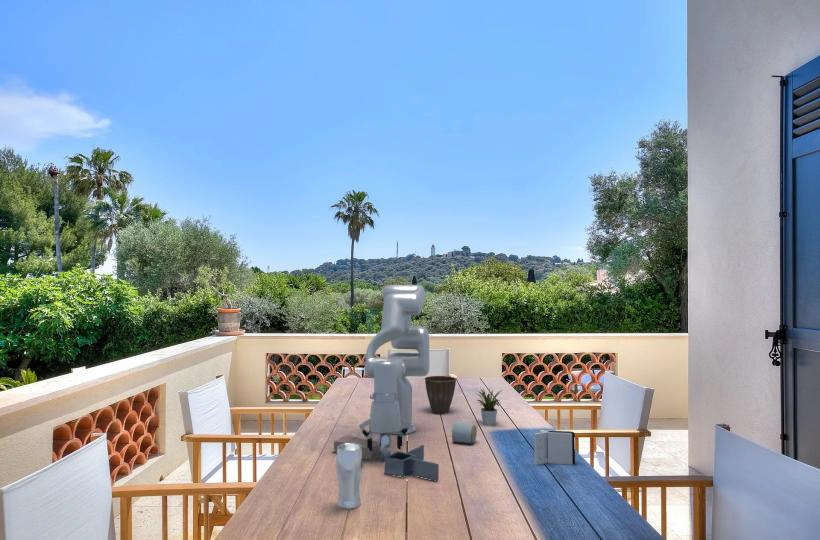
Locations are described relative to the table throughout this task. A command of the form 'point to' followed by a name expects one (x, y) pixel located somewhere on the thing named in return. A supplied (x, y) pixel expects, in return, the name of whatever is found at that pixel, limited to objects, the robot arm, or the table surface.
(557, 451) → the hinge
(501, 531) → the table surface
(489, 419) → the house plant
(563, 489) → the table surface
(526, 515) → the table surface
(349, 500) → the beer glass
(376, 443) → the brick
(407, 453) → the grey cross-shaped holder
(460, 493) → the table surface
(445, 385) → the plant pot
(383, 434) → the hinge pin
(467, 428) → the ceramic mug
